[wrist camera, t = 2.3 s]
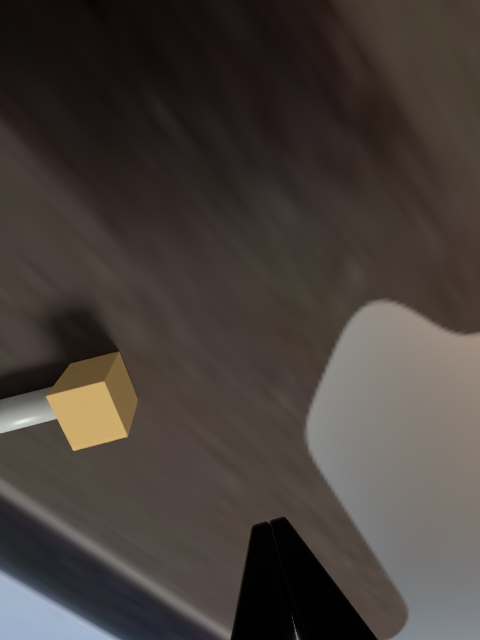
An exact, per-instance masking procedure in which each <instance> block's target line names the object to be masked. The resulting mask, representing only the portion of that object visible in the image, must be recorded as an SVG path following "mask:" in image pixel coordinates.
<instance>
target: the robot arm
mask: <svg viewBox="0 0 480 640" xmlns="http://www.w3.org/2000/svg"><path fill="white" fill-rule="evenodd" d="M292 617H293V619H292ZM293 621H294V623H293ZM294 625H295V628H294ZM295 629H296V632H297V635H298V638H299V640H378V639H377V638H376V636H375V635H374V634H373V632H372V631H371V630H370V628H369V627H368V626H367V624H366V623H365V622H364V620H363V619H362V618H361V616H360V615H359V614H358V612H357V611H356V610H355V608H354V607H353V606H352V604H351V603H350V602H349V600H348V599H347V598H346V596H345V595H344V594H343V592H342V591H341V590H340V588H339V587H338V586H337V584H336V583H335V582H334V581H333V579H332V578H331V577H330V575H329V574H328V573H327V571H326V570H325V569H324V567H323V566H322V565H321V563H320V562H319V561H318V559H317V558H316V557H315V555H314V554H313V553H312V551H311V550H310V549H309V547H308V546H307V545H306V543H305V542H304V541H303V539H302V538H301V537H300V535H299V534H298V533H297V531H296V530H295V529H294V527H293V526H292V525H291V523H290V522H289V521H288V520H287V518H285V517H280V518H277V519H273V520H271V521H270V525H269V523H268V522H263V523H259V524H255V525H253V527H252V529H251V534H250V539H249V545H248V550H247V555H246V561H245V566H244V571H243V577H242V582H241V587H240V593H239V598H238V603H237V608H236V614H235V619H234V624H233V630H232V635H231V640H296V634H295Z"/></svg>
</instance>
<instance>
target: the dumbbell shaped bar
mask: <svg viewBox="0 0 480 640" xmlns="http://www.w3.org/2000/svg"><path fill="white" fill-rule="evenodd" d="M137 402H138V398H137V396H136V393H135V391H134V388H133V385H132V383H131V380H130V378H129V375H128V373H127V370H126V368H125V365H124V362H123V360H122V357H121V355H120V352H119V351H118V352H114V353H110V354H106V355H102V356H98V357H95V358H91V359H87V360H83V361H79V362H75V363H71V364H70V365H69V366H68V367H67V369H66V370H65V371H64V373H63V374H62V375H61V377H60V378H59V379H58V381H57V382H56V383H55V385H54V386H52V387H48V388H45V389H41V390H37V391H33V392H29V393H25V394H21V395H17V396H13V397H9V398H5V399H1V400H0V433H4V432H8V431H11V430H15V429H19V428H23V427H27V426H31V425H35V424H38V423H42V422H46V421H50V420H54V419H58V421H59V423H60V425H61V427H62V429H63V431H64V433H65V435H66V437H67V439H68V441H69V443H70V445H71V447H72V449H73V451H75V450H79V449H83V448H87V447H90V446H94V445H98V444H102V443H106V442H109V441H113V440H117V439H121V438H125V437H128V434H129V431H130V427H131V423H132V420H133V416H134V413H135V409H136V406H137Z"/></svg>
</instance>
